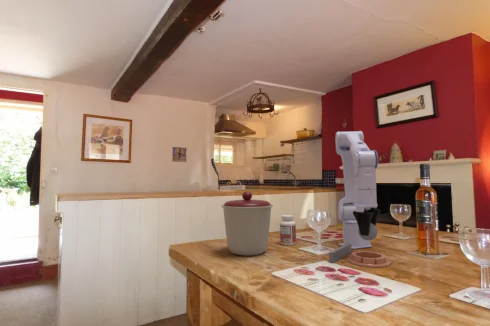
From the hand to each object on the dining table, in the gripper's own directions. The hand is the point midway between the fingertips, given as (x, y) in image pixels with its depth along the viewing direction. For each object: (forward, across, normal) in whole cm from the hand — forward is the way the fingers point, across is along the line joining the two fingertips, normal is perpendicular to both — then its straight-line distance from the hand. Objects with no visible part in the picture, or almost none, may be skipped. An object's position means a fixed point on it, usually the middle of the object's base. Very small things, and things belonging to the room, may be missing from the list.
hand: (367, 233), depth 89 cm
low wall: (+8, 0, -8) cm, 12 cm away
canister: (+9, +13, -37) cm, 40 cm away
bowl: (+8, 0, 0) cm, 8 cm away
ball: (-1, 0, 0) cm, 1 cm away
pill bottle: (+9, -7, -32) cm, 34 cm away
